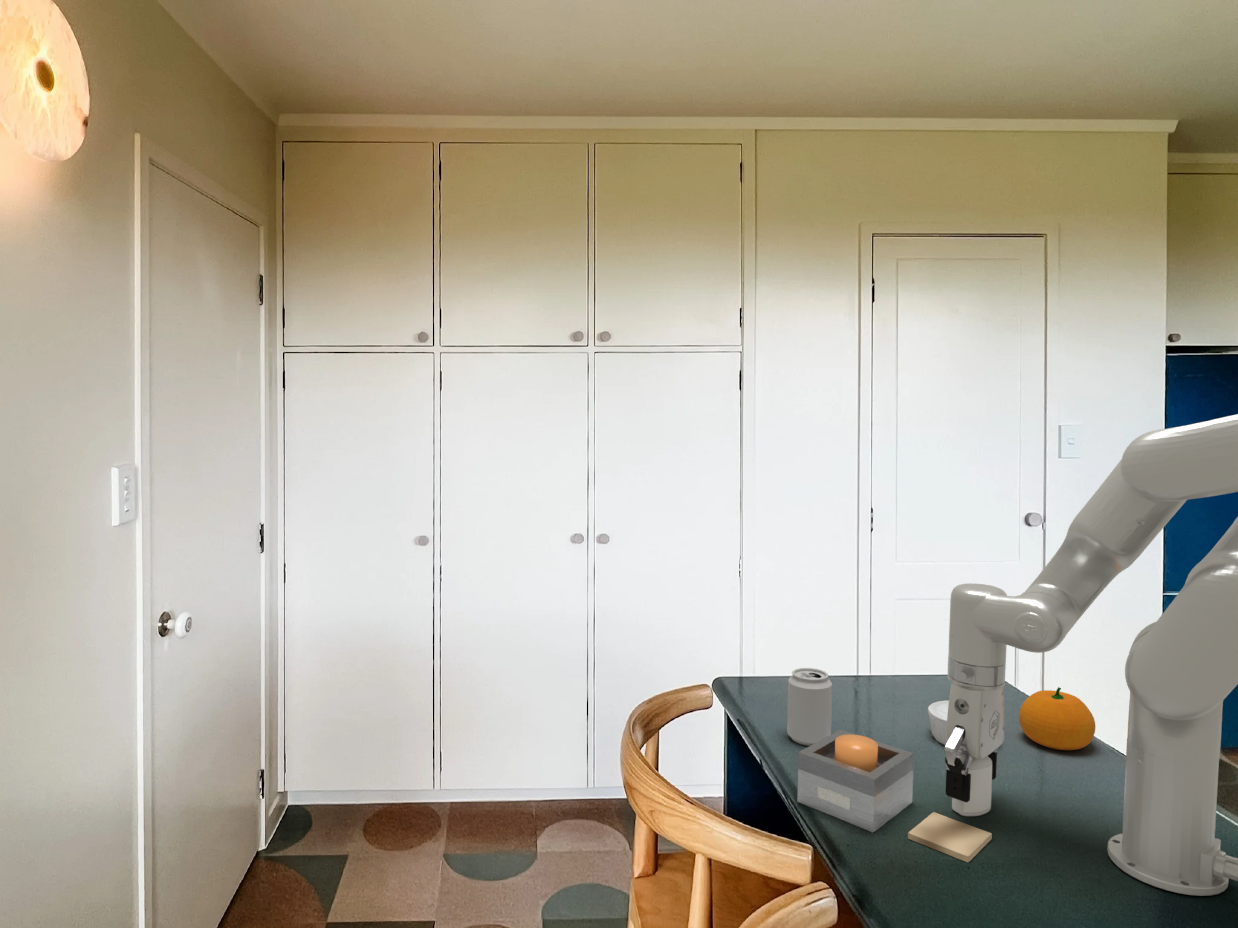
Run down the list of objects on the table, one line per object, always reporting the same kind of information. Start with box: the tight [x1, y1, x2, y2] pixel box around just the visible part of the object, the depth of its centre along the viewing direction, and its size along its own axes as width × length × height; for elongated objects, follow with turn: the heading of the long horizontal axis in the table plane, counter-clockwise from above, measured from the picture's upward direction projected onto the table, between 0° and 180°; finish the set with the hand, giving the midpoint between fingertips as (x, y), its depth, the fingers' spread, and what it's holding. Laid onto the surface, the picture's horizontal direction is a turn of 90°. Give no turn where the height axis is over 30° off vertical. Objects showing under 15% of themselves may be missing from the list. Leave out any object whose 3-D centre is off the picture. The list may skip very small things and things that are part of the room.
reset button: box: [835, 734, 878, 772], centre depth 116 cm, size 6×6×6 cm
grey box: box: [797, 729, 915, 833], centre depth 116 cm, size 12×12×8 cm
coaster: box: [907, 811, 993, 863], centre depth 106 cm, size 8×8×1 cm
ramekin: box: [927, 699, 964, 750], centre depth 138 cm, size 11×11×5 cm
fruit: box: [1018, 686, 1096, 751], centre depth 138 cm, size 12×12×10 cm
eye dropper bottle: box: [951, 748, 993, 817], centre depth 114 cm, size 4×6×12 cm
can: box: [786, 667, 833, 747], centre depth 138 cm, size 8×8×12 cm
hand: (971, 786), depth 114 cm, fingers open, 9 cm apart
